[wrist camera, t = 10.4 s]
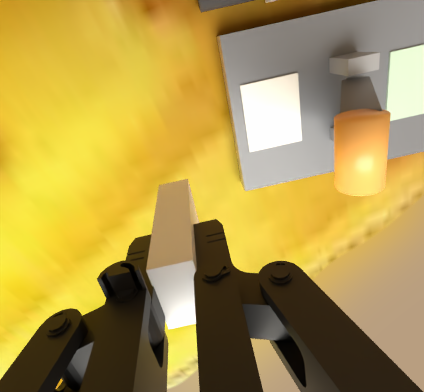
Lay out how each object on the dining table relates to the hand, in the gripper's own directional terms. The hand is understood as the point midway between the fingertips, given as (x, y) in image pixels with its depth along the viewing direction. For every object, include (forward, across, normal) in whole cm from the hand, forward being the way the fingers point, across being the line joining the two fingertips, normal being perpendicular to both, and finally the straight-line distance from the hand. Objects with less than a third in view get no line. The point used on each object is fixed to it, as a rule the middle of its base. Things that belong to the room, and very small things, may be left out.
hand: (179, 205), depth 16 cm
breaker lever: (+11, +15, 0) cm, 19 cm away
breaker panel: (+15, +15, 0) cm, 21 cm away
